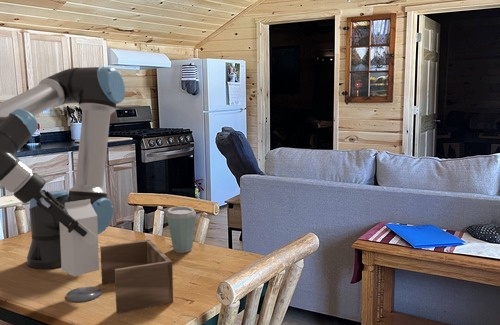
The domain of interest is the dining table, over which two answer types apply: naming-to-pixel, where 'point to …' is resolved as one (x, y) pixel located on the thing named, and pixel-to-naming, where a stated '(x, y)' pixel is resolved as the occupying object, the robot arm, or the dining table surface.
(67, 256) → the milk carton
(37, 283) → the dining table surface
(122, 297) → the walnut cubby
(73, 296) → the disc
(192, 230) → the disposable coffee cup
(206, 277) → the dining table surface
